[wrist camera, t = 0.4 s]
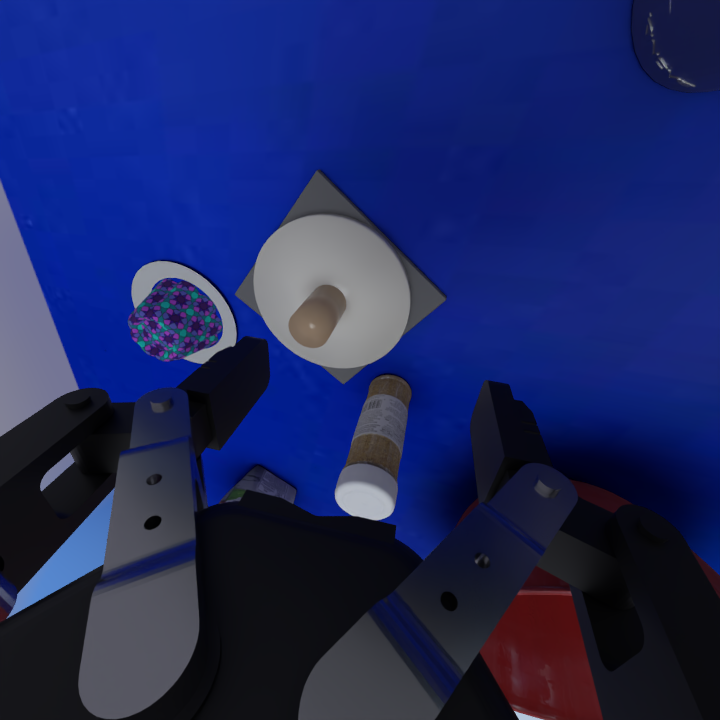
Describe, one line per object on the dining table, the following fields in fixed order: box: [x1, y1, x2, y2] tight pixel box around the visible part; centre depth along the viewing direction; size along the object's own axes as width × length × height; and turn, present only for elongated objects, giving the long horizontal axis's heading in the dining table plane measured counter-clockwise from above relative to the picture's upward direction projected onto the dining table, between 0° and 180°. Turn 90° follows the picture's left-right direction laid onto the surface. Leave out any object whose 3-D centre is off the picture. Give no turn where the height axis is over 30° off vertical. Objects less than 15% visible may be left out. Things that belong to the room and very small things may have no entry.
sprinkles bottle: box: [335, 375, 411, 520], centre depth 30 cm, size 5×5×14 cm
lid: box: [253, 213, 411, 368], centre depth 27 cm, size 14×14×6 cm
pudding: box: [128, 261, 237, 364], centre depth 34 cm, size 12×12×5 cm
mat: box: [235, 170, 446, 384], centre depth 30 cm, size 14×14×1 cm
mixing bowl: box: [455, 480, 720, 720], centre depth 34 cm, size 28×28×15 cm
